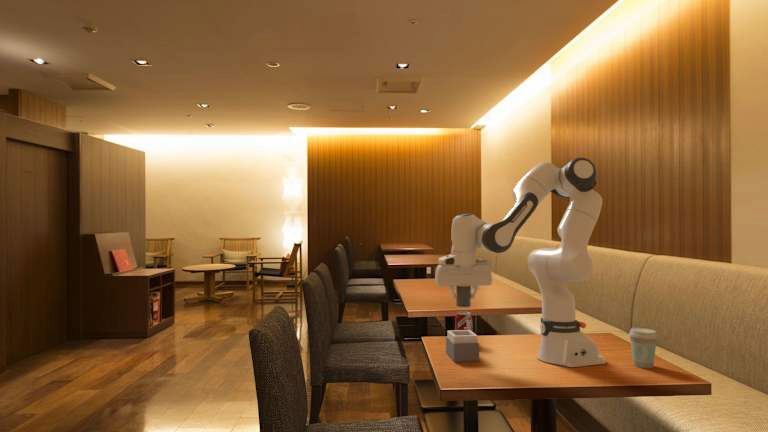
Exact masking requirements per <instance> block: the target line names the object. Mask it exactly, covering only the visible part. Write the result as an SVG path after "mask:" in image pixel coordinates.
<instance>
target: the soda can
mask: <svg viewBox="0 0 768 432" xmlns="http://www.w3.org/2000/svg"><path fill="white" fill-rule="evenodd" d="M473 318H474V317H473V316H472V313H471V312H470V311H464V310H463V311H457V312H456V316H455V318H454V319H455V322H454V323H455V324H454V326H455V327H454V330H471V331H472V332H473V331H474V330H473V326H474V325H473V323H474V322H473Z"/></svg>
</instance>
